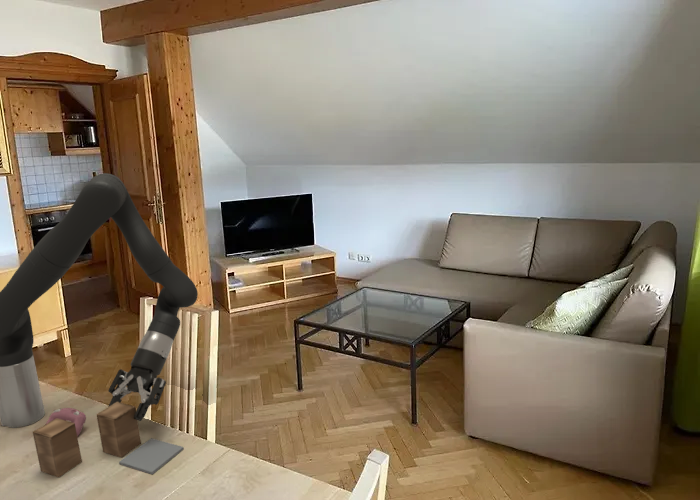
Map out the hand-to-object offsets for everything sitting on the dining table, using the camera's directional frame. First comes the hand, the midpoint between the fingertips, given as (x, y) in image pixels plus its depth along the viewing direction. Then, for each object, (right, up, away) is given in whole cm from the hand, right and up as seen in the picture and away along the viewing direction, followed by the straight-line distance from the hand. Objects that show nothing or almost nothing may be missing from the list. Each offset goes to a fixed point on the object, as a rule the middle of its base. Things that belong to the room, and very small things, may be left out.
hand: (123, 416), depth 131 cm
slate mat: (+8, -8, -4) cm, 12 cm away
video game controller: (-18, -7, +8) cm, 21 cm away
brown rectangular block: (0, -7, 0) cm, 8 cm away
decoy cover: (-12, -10, -6) cm, 16 cm away
